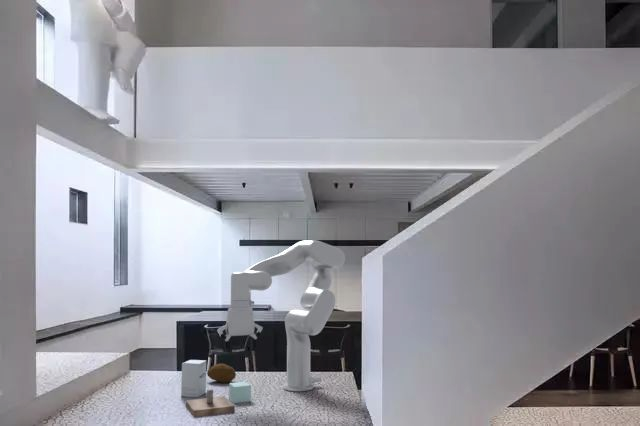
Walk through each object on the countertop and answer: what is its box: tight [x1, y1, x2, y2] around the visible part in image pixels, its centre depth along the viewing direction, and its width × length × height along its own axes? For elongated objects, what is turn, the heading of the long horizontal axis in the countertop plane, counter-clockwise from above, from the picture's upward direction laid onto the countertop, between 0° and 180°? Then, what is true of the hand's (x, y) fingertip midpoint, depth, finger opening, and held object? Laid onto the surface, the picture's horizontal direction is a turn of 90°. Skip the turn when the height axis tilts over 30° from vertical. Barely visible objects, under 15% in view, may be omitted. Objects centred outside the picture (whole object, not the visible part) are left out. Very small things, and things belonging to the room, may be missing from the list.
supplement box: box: [180, 359, 207, 398], centre depth 213 cm, size 7×7×13 cm
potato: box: [206, 363, 237, 384], centre depth 234 cm, size 8×12×8 cm, turn 91°
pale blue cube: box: [228, 381, 252, 404], centre depth 205 cm, size 6×6×6 cm
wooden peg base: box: [185, 388, 236, 418], centre depth 194 cm, size 14×14×6 cm
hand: (240, 350), depth 206 cm, fingers open, 9 cm apart
